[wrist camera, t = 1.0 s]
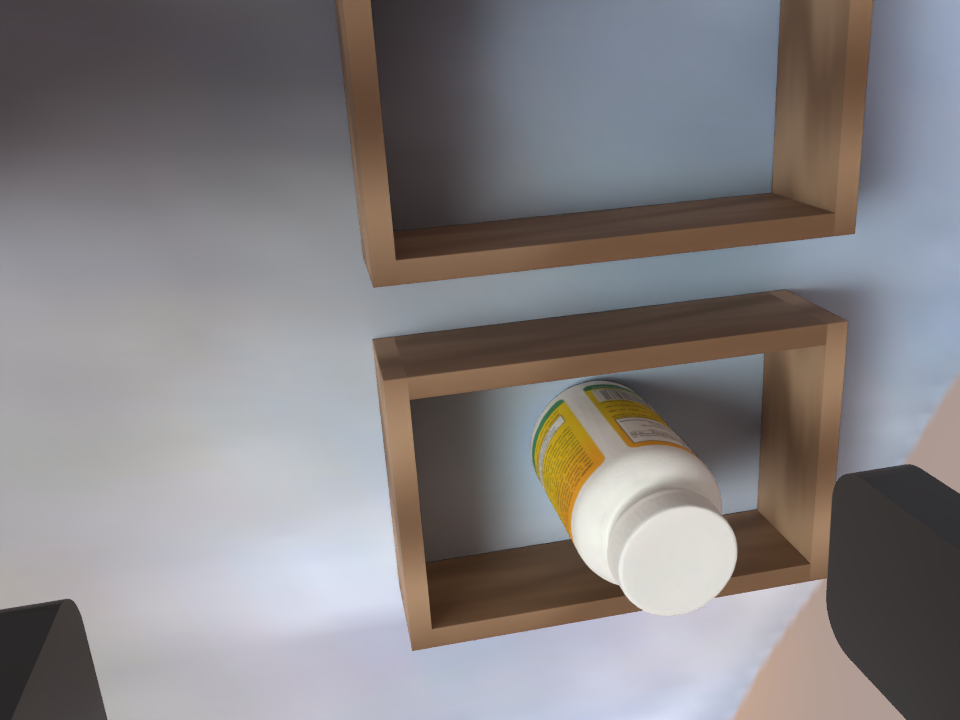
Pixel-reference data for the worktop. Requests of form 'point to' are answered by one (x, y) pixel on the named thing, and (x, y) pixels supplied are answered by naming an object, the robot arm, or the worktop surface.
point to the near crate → (654, 228)
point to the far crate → (603, 350)
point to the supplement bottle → (633, 498)
